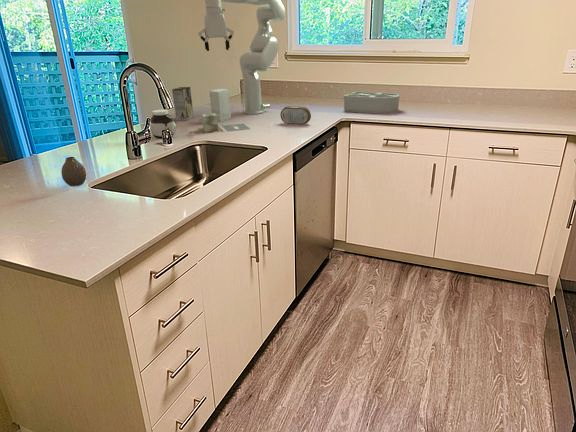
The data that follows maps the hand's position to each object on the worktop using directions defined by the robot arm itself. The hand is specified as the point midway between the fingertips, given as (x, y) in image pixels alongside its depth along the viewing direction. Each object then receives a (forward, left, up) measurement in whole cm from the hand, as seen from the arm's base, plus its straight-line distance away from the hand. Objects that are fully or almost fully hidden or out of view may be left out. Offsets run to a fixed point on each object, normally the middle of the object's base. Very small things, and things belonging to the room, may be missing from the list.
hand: (217, 50), depth 213 cm
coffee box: (+18, -14, -34) cm, 41 cm away
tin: (-30, +26, -34) cm, 52 cm away
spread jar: (+32, +22, -34) cm, 52 cm away
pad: (+11, +22, -34) cm, 42 cm away
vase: (+65, +79, -34) cm, 108 cm away
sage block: (+11, +22, -34) cm, 42 cm away
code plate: (-1, +22, -34) cm, 41 cm away
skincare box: (+1, 0, -34) cm, 34 cm away
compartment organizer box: (-81, +12, -35) cm, 89 cm away
